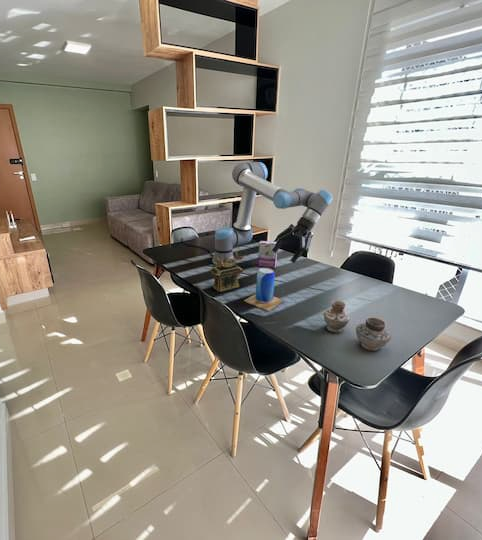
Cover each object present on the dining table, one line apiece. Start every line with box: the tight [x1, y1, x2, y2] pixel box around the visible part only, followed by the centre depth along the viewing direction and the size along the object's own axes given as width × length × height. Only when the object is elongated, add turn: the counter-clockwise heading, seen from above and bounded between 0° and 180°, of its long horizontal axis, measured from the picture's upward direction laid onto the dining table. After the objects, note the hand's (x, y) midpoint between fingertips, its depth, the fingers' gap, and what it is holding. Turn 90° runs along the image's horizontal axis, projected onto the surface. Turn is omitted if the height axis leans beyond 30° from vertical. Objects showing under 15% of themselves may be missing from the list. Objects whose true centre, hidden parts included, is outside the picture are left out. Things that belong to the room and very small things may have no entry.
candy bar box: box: [257, 240, 278, 269], centre depth 183 cm, size 11×5×16 cm, turn 68°
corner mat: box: [243, 293, 285, 312], centre depth 142 cm, size 14×14×1 cm
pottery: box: [323, 300, 392, 351], centre depth 111 cm, size 11×25×12 cm, turn 36°
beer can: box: [255, 267, 276, 304], centre depth 139 cm, size 8×8×16 cm
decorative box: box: [208, 250, 246, 292], centre depth 156 cm, size 20×10×20 cm, turn 117°
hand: (282, 256), depth 142 cm, fingers open, 13 cm apart
